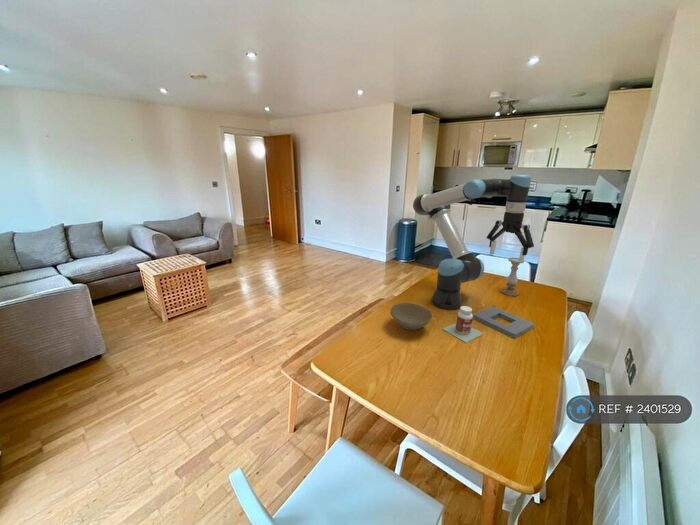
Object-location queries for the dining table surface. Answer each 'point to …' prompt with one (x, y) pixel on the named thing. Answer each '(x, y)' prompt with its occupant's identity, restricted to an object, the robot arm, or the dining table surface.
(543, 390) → the dining table surface
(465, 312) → the pill bottle
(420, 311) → the bowl
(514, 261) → the candle holder
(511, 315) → the socket block
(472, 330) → the mat
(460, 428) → the dining table surface
